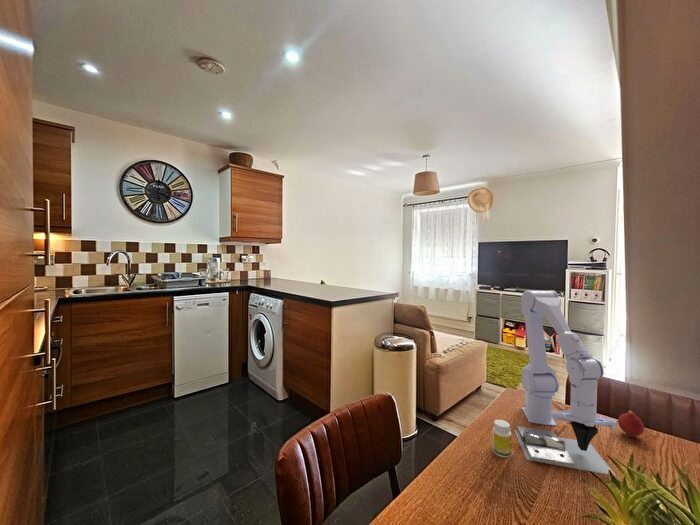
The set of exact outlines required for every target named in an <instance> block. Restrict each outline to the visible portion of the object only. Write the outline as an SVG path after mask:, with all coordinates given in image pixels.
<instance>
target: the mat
mask: <svg viewBox="0 0 700 525" xmlns="http://www.w3.org/2000/svg"><path fill="white" fill-rule="evenodd" d="M513 431H514V433H515V435H516V436H515V437H516V438H517V440H518V443H519V444H520V447H521V449H522V452H523V454H524V456H525V458H526V460H527V461H532V460H531V458H530V456H529V454H528V452H527V450H526V445H525V444H524V442H523V441H522V440H521V437H520V435H519V432H518V430H517V429H516V430H513ZM557 438H561V439H563V440H564V442H565V451H567V452H568V454H569V456H570V457H571V459H572V460H573V462H574V463H575V468H574V469H576V470H577V469H578V470H582V471H588V472H593V473H598V474H599V473H600V474H604V475H609V474H608V470H611V472H612V473H613V474H614V475H613V476H616V477H617V474H615V472H614V471H613V469H611V467H610V466H609V465H608V464H607V463H606V461H605V460H604V458H602V456H601V455H600V453H599V452H598V451H597V450H596V449H595V448H594V446H593V445H592V444H591V442H590V443H589V446H588V448H587V451H583V450H580V448H579V447H578V444H577V439H572V438H565V437H559V436H557ZM532 462H533V461H532Z"/></svg>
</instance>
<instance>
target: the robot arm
mask: <svg viewBox="0 0 700 525" xmlns="http://www.w3.org/2000/svg"><path fill="white" fill-rule="evenodd" d="M520 304H521V314H523V316H524V323H525V334H526V342H527V352H528V360H529V363H528V364H527V365H525V366H524V367H522V369H521V385H522V387H523V389H524V391H525V395H524V407H521V410H522V409H523V410H522V411H523V413H524V415H525V417H526V419H527V420H528V422H529V423H533V424H538V425H539V424H540V425H545V426H554V427H557V421H562V422H563V421H564V422H569V424H570V425H571V428H572V429H573V430H572V431H573V432H574V436H575V437H576V438H575V440H577V444H578V447H579V448H580V450H583V451H587V448H588V446H589V443H590V444H591V441H592V440H593V439H594V438H595V436H596V435H597V434H599V429H598V428H597V427H596V426H598V427H599V426H600V427H606V428H610V429H613V430H617V421H616V420H614V419H613V418H610V417H605V416H601V415H597V411H598V410H597V408H598V407H597V404H598V402H597V401H598V380H600V379H602V378H603V376H604V368H603V365H602V362H601V361H600V360H599V359H598V358H596V357H594V356H593V355H592V354H591V353H589V351H588V350H587V348H586V346H585V345H584V343H583V342H582V339H581V338H580V336H579V335H578V333H575V332H572V331H571V329H570V327H569V325H568V322H567V320H566V318H565V315H564V314H563V311H562V310H561V305H562V300H561V298H560V295H559V294H558V293H557V292H556V290H528V289H526V290H524V291H523V293H522V294H521V296H520ZM544 316H545V317H546V318H547V320H548V322H549V324H550V325H551V326H552V328H553V330H554V331H555V333H556V334H557V338H556V343H557V344H558V346H559V348H560V350H561V352H562V354H563V356H564V357H565V360H566V361H567V362H566V364H565V370H566V372H567V374H568V375H567V376H568V381H569V383H570V403H569V404H570V407H569V408H570V409H569V410H553V396H554V397H555V394H556V393H558V391H559V389H560V381H559V380H558V377H557V373H556V370H555V369H554V368H552V366H550V365H549V364H548V360H547V359H548V358H547V350H546V349H547V348H546V341H545V335H544V334H545V333H544V326H543V318H544ZM555 421H556V422H555Z"/></svg>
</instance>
